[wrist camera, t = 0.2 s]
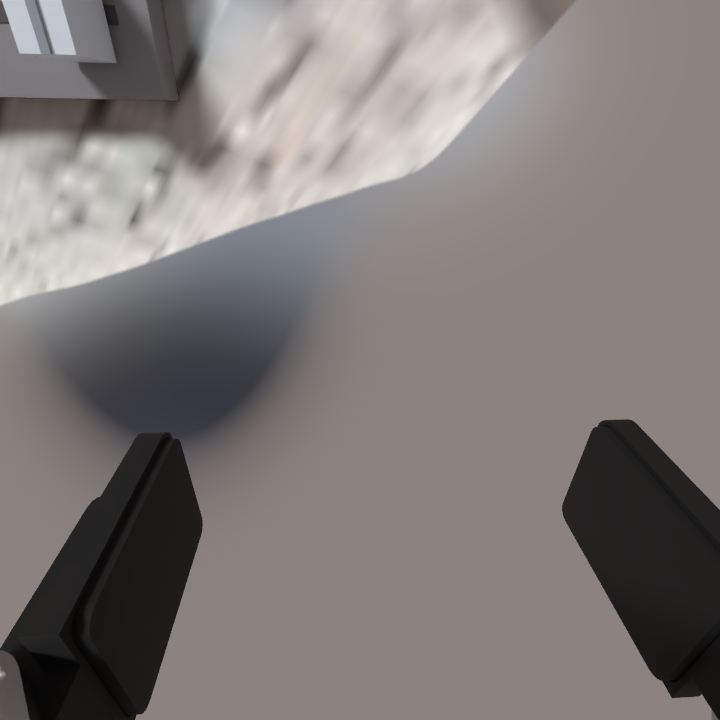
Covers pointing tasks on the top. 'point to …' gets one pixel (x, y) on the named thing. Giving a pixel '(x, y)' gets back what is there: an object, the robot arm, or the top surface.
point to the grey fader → (61, 29)
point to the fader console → (98, 80)
